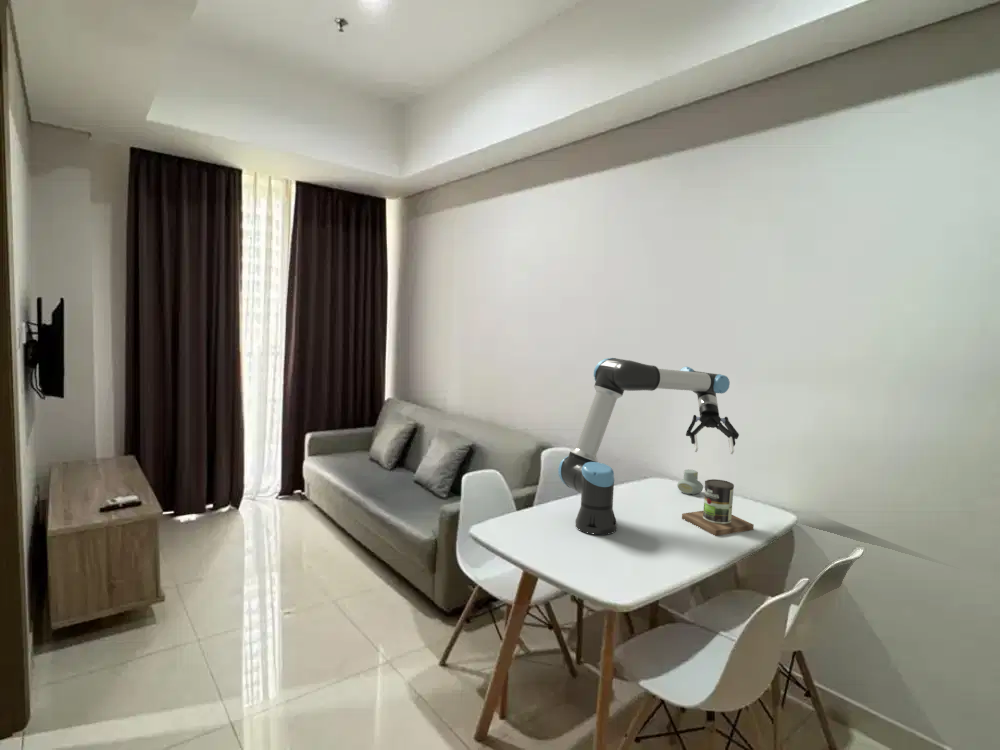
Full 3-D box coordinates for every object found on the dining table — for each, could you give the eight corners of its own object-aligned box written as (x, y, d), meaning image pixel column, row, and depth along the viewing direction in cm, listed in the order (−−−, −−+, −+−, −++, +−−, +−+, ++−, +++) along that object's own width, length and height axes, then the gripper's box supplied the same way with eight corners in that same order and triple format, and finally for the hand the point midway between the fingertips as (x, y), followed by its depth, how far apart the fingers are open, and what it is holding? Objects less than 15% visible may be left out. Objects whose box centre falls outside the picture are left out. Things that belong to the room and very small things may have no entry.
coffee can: (718, 525, 201) (720, 488, 200) (697, 516, 211) (699, 481, 209) (737, 521, 206) (740, 485, 205) (715, 512, 215) (718, 477, 214)
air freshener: (705, 493, 245) (706, 472, 244) (696, 497, 239) (698, 475, 238) (683, 487, 253) (684, 466, 252) (673, 491, 247) (675, 470, 246)
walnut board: (715, 535, 197) (715, 530, 197) (681, 518, 214) (682, 513, 214) (753, 529, 204) (753, 524, 203) (718, 513, 220) (718, 508, 220)
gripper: (737, 414, 231) (745, 458, 218) (676, 411, 235) (680, 454, 221) (741, 404, 225) (750, 448, 212) (679, 401, 229) (683, 444, 216)
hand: (714, 451), depth 217 cm, fingers open, 13 cm apart
